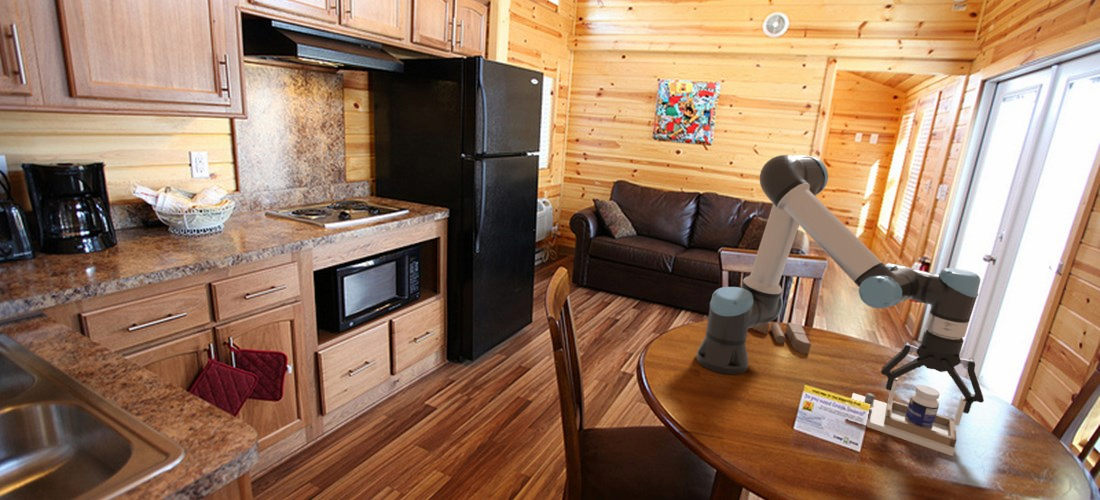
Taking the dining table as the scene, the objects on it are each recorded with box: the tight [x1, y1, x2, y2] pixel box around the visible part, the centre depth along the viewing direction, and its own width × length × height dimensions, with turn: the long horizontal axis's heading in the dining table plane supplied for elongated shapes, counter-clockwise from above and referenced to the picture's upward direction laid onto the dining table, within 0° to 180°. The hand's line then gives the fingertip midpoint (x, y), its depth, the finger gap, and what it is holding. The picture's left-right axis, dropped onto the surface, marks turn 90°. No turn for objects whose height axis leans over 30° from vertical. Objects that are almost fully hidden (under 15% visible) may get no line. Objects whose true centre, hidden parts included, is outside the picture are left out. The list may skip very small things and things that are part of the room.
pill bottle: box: [905, 384, 941, 430], centre depth 124 cm, size 6×6×10 cm
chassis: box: [850, 392, 958, 457], centre depth 128 cm, size 22×14×4 cm, turn 54°
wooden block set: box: [750, 322, 812, 355], centre depth 175 cm, size 17×6×18 cm
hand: (921, 412), depth 125 cm, fingers open, 13 cm apart
